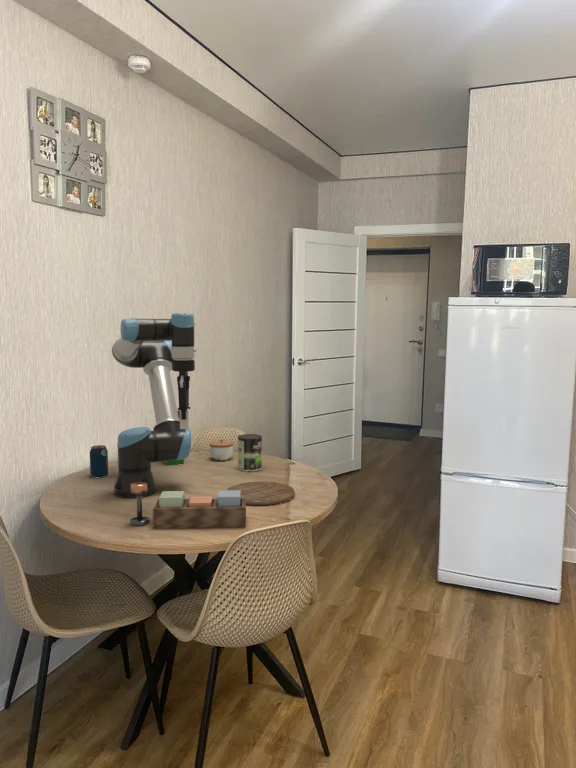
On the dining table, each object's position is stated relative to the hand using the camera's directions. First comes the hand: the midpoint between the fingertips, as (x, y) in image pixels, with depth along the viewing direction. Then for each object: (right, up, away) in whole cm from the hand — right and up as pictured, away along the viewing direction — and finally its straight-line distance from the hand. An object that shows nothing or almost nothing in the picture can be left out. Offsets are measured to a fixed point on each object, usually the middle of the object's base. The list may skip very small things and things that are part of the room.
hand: (184, 428), depth 195 cm
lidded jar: (+5, -19, +67) cm, 70 cm away
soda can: (-41, -22, +38) cm, 61 cm away
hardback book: (-16, -20, +65) cm, 69 cm away
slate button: (+17, -23, -15) cm, 32 cm away
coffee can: (+19, -21, +51) cm, 58 cm away
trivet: (+25, -26, +13) cm, 39 cm away
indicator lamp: (-11, -28, -16) cm, 34 cm away
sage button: (-1, -23, -16) cm, 28 cm away
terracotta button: (+8, -25, -15) cm, 30 cm away
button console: (+8, -28, -15) cm, 33 cm away
